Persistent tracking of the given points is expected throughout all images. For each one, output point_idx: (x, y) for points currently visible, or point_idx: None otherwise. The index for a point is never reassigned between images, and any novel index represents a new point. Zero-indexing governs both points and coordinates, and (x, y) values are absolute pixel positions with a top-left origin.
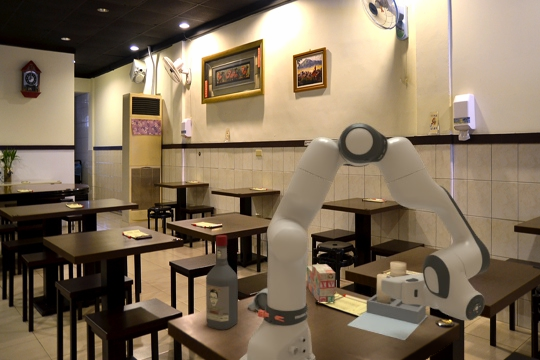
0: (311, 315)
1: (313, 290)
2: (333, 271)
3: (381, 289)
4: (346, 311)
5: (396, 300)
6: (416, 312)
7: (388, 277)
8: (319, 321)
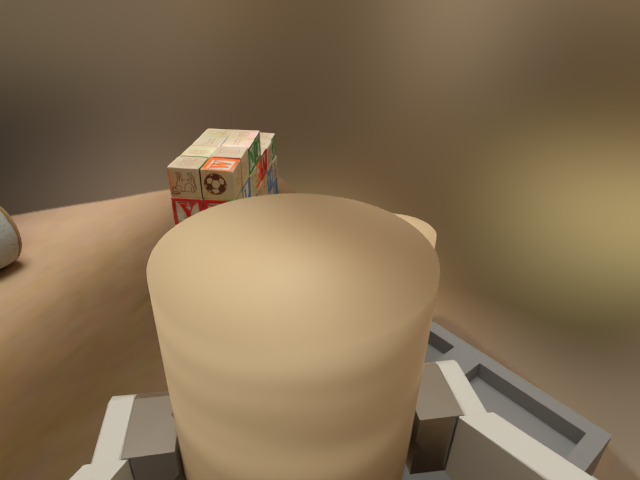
0: (70, 342)
1: None
2: (235, 164)
3: None
4: None
5: (447, 359)
6: None
7: (107, 439)
8: (45, 396)
